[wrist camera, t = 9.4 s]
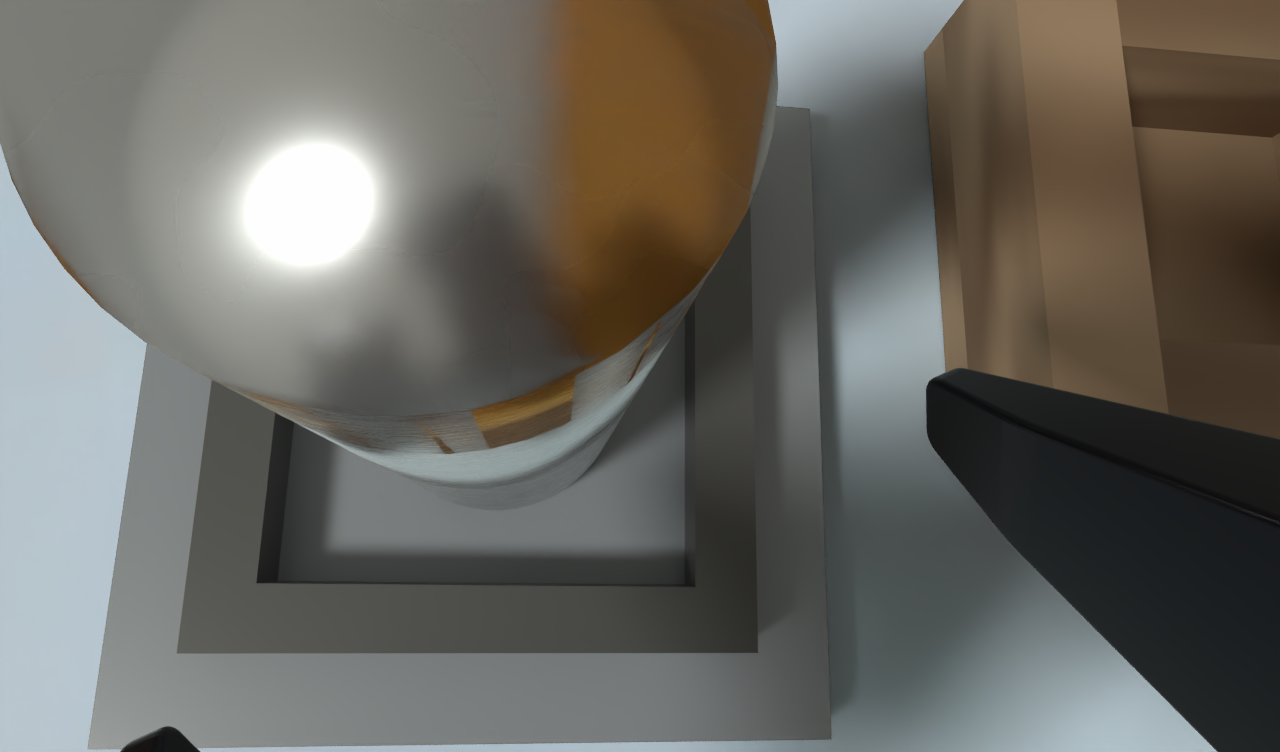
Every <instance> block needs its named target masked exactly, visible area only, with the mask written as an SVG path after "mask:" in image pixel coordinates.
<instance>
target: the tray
mask: <svg viewBox="0 0 1280 752" xmlns="http://www.w3.org/2000/svg"><path fill="white" fill-rule="evenodd" d="M166 726H171V727H174V728H176V729H177V730H179V731H180V732H181V733H182V734H183V735H184V736H185V737H186V738H187V739H188V740H189V741H190V742H191V743H192V744H193V745H194V746H195V747H196V748H232V747H306V746H380V745H454V744H529V743H603V742H677V741H751V740H826V739H831V713H830V684H829V655H828V626H827V597H826V568H825V539H824V510H823V482H822V453H821V424H820V395H819V366H818V337H817V308H816V279H815V250H814V221H813V192H812V163H811V134H810V109H806V108H793V107H780V106H776V111H775V122H774V130H773V134H772V138H771V142H770V146H769V150H768V154H767V159H766V163H765V167H764V171H763V173H762V176H761V178H760V181H759V183H758V186H757V188H756V191H755V193H754V196H753V198H752V201H751V203H750V205H749V208H748V210H747V213H746V214H745V216H744V218H743V220H742V221H741V223H740V225H739V226H738V228H737V230H736V232H735V233H734V235H733V237H732V238H731V240H730V242H729V244H728V245H727V247H726V249H725V250H724V252H723V254H722V255H721V257H720V259H719V260H718V262H717V264H716V265H715V267H714V268H713V270H712V272H711V273H710V275H709V277H708V278H707V280H706V281H705V283H704V285H703V286H702V288H701V290H700V291H699V293H698V294H697V296H696V298H695V299H694V301H693V303H692V304H691V306H690V307H689V309H688V311H687V312H686V314H685V316H684V317H683V319H682V320H681V322H680V324H679V325H678V327H677V329H676V330H675V332H674V333H673V335H672V337H671V338H670V340H669V342H668V343H667V345H666V346H665V348H664V350H663V351H662V353H661V355H660V356H659V358H658V359H657V361H656V363H655V364H654V366H653V368H652V369H651V371H650V372H649V374H648V376H647V377H646V379H645V381H644V382H643V384H642V385H641V387H640V389H639V390H638V392H637V394H636V395H635V397H634V398H633V400H632V402H631V403H630V405H629V407H628V408H627V410H626V411H625V413H624V415H623V416H622V418H621V420H620V421H619V423H618V424H617V426H616V428H615V429H614V431H613V433H612V434H611V436H610V437H609V439H608V441H607V442H606V444H605V446H604V447H603V449H602V450H601V452H600V454H599V455H598V457H597V458H596V460H595V461H594V462H593V463H592V465H591V466H590V467H589V469H588V470H587V471H586V472H585V473H584V474H583V475H582V476H581V477H580V478H579V479H578V480H576V481H575V482H574V483H573V484H571V485H570V486H569V487H567V488H566V489H565V490H563V491H561V492H560V493H558V494H556V495H554V496H553V497H551V498H549V499H546V500H544V501H541V502H539V503H537V504H534V505H530V506H526V507H522V508H518V509H510V510H480V509H472V508H468V507H464V506H460V505H457V504H454V503H451V502H449V501H447V500H444V499H442V498H440V497H438V496H436V495H434V494H432V493H430V492H428V491H426V490H424V489H422V488H420V487H418V486H416V485H414V484H413V483H411V482H409V481H407V480H405V479H403V478H401V477H399V476H397V475H395V474H393V473H391V472H389V471H387V470H385V469H384V468H382V467H380V466H378V465H376V464H374V463H372V462H370V461H368V460H366V459H364V458H362V457H360V456H358V455H356V454H355V453H353V452H351V451H349V450H347V449H345V448H343V447H341V446H339V445H337V444H335V443H333V442H331V441H329V440H327V439H326V438H324V437H322V436H320V435H318V434H316V433H314V432H312V431H310V430H308V429H306V428H304V427H302V426H300V425H298V424H297V423H295V422H293V421H291V420H289V419H287V418H285V417H283V416H281V415H279V414H277V413H275V412H273V411H271V410H269V409H268V408H266V407H264V406H262V405H260V404H258V403H256V402H254V401H252V400H250V399H248V398H246V397H244V396H242V395H240V394H239V393H237V392H235V391H233V390H231V389H229V388H227V387H225V386H223V385H221V384H219V383H217V382H215V381H213V380H211V379H210V378H208V377H206V376H204V375H202V374H200V373H198V372H196V371H194V370H192V369H190V368H189V367H187V366H185V365H184V364H182V363H180V362H179V361H177V360H175V359H173V358H172V357H170V356H168V355H167V354H165V353H163V352H161V351H160V350H158V349H156V348H155V347H153V346H151V345H150V344H148V343H147V347H146V354H145V361H144V367H143V374H142V381H141V388H140V395H139V401H138V408H137V415H136V422H135V429H134V435H133V442H132V449H131V456H130V463H129V469H128V476H127V483H126V490H125V497H124V504H123V510H122V517H121V524H120V531H119V538H118V544H117V551H116V558H115V565H114V572H113V578H112V585H111V592H110V599H109V606H108V612H107V619H106V626H105V633H104V640H103V646H102V653H101V660H100V667H99V674H98V680H97V687H96V694H95V701H94V708H93V715H92V721H91V728H90V735H89V742H88V749H123V748H124V747H125V746H126V745H127V744H128V743H130V742H131V741H133V740H135V739H137V738H139V737H142V736H144V735H146V734H148V733H150V732H153V731H155V730H157V729H159V728H162V727H166Z"/></svg>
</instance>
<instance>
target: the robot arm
mask: <svg viewBox="0 0 1280 752" xmlns="http://www.w3.org/2000/svg"><path fill="white" fill-rule="evenodd" d="M926 415H927V434H928V438H929V441H930V443H931V445H932V447H933V448H934V450H935V451H936V452H937V454H938V455H939V456H940V457H941V459H942V460H943V461H944V462H945V464H946V465H947V466H948V467H949V468H950V470H951V471H952V472H953V473H954V475H955V476H956V477H957V478H958V480H959V481H960V482H961V483H962V485H963V486H964V487H965V488H966V490H967V491H968V492H969V493H970V495H971V496H972V497H973V498H974V500H975V501H976V502H977V503H978V505H979V506H980V507H981V508H982V509H983V511H984V512H985V513H986V514H987V516H988V517H989V518H990V519H991V521H992V522H993V523H994V524H995V526H996V527H997V528H998V529H999V530H1000V532H1001V533H1002V534H1003V535H1004V536H1005V537H1006V539H1007V540H1008V541H1009V542H1010V543H1011V544H1012V545H1013V546H1014V547H1015V548H1016V549H1017V550H1018V552H1019V553H1020V554H1021V555H1022V556H1023V557H1024V558H1025V559H1026V560H1027V561H1028V562H1029V563H1030V564H1031V565H1032V566H1033V567H1034V568H1035V569H1036V570H1037V571H1038V572H1039V573H1040V574H1041V575H1042V576H1043V577H1044V578H1045V579H1046V580H1047V581H1048V582H1049V583H1050V584H1051V585H1052V586H1053V587H1054V588H1055V589H1056V590H1057V591H1058V592H1059V593H1060V594H1061V595H1062V596H1063V597H1064V598H1065V599H1066V600H1067V601H1068V602H1069V603H1070V604H1071V605H1072V606H1073V607H1074V608H1075V609H1076V610H1077V611H1078V612H1079V613H1080V614H1081V615H1082V616H1083V617H1084V618H1085V619H1086V620H1087V621H1088V622H1089V623H1090V624H1091V625H1092V626H1093V627H1094V628H1095V629H1096V630H1097V631H1098V632H1099V633H1100V634H1101V635H1102V636H1103V637H1104V638H1105V639H1106V640H1107V641H1108V642H1109V643H1110V644H1111V645H1112V646H1113V647H1114V648H1115V649H1116V650H1117V651H1118V652H1119V653H1120V654H1121V655H1122V656H1123V657H1124V658H1125V659H1126V660H1127V661H1128V662H1129V663H1130V664H1131V665H1132V666H1133V667H1134V668H1135V669H1136V670H1137V671H1138V672H1139V673H1140V674H1141V675H1142V676H1143V677H1144V678H1145V679H1146V680H1147V681H1148V682H1149V683H1150V684H1151V685H1152V686H1153V687H1154V688H1155V689H1156V690H1157V691H1158V692H1159V693H1160V694H1161V695H1162V696H1163V697H1164V698H1165V699H1166V700H1167V701H1168V702H1169V703H1170V704H1171V705H1172V706H1173V707H1174V708H1175V709H1176V710H1177V711H1178V712H1179V713H1180V714H1181V715H1182V716H1183V717H1184V718H1185V720H1186V721H1187V722H1188V723H1189V724H1190V725H1191V726H1192V727H1193V728H1194V729H1195V730H1196V731H1197V732H1198V733H1199V734H1200V735H1201V736H1202V737H1203V738H1204V739H1205V740H1206V741H1207V742H1208V743H1209V744H1210V745H1211V746H1212V747H1213V748H1214V749H1215V750H1216V751H1217V752H1280V439H1279V438H1274V437H1270V436H1265V435H1261V434H1256V433H1252V432H1247V431H1243V430H1238V429H1234V428H1229V427H1225V426H1221V425H1216V424H1212V423H1207V422H1203V421H1198V420H1194V419H1189V418H1185V417H1180V416H1176V415H1171V414H1167V413H1162V412H1158V411H1153V410H1149V409H1145V408H1140V407H1136V406H1131V405H1127V404H1122V403H1118V402H1113V401H1109V400H1104V399H1100V398H1095V397H1091V396H1086V395H1082V394H1077V393H1073V392H1068V391H1064V390H1060V389H1055V388H1051V387H1046V386H1042V385H1037V384H1033V383H1028V382H1024V381H1019V380H1015V379H1010V378H1006V377H1001V376H997V375H992V374H988V373H984V372H979V371H975V370H970V369H965V368H956V369H952V370H950V371H948V372H946V373H944V374H941V375H939V376H937V377H935V378H933V379H931V380H930V381H929V383H928V385H927V388H926ZM121 752H200V751H199V750H198V749H197V748H196V747H195V746H194V745H193V744H192V743H191V742H190V741H189V740H188V739H187V738H186V737H185V736H184V735H183V734H182V733H181V732H180V731H179V730H177V729H176V728H174V727H171V726H166V727H162V728H159V729H157V730H155V731H153V732H150V733H148V734H146V735H144V736H142V737H139V738H137V739H135V740H133V741H131V742H130V743H128V744H127V745H126V746H125V747H124V748H123V749H122V750H121Z"/></svg>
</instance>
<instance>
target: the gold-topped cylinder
mask: <svg viewBox="0 0 1280 752" xmlns="http://www.w3.org/2000/svg"><path fill="white" fill-rule="evenodd" d="M777 90H778V77H777V55H776V41H775V36H774V31H773V25H772V20H771V15H770V9H769V4H768V0H0V143H1V146H2V150H3V153H4V156H5V159H6V163H7V166H8V169H9V172H10V175H11V179H12V181H13V183H14V185H15V187H16V189H17V191H18V193H19V195H20V197H21V199H22V202H23V204H24V206H25V208H26V210H27V212H28V214H29V216H30V218H31V220H32V222H33V224H34V226H35V227H36V229H37V230H38V232H39V233H40V234H41V236H42V237H43V239H44V240H45V242H46V243H47V244H48V246H49V247H50V249H51V250H52V252H53V253H54V254H55V256H56V257H57V259H58V260H59V262H60V263H61V264H62V266H63V267H64V269H65V270H66V271H67V272H68V273H69V274H70V275H71V276H72V277H73V278H74V279H75V280H76V281H77V282H78V283H79V284H80V286H81V287H82V288H83V289H84V290H85V291H86V292H87V293H88V294H89V295H90V296H91V297H92V298H93V299H94V300H95V301H96V302H97V303H98V304H99V306H100V307H101V308H103V309H104V310H105V311H106V312H108V313H109V314H110V315H112V316H113V317H114V318H115V319H117V320H118V321H119V322H120V323H122V324H123V325H124V326H125V327H127V328H128V329H129V330H131V331H132V332H133V333H134V334H136V335H137V336H138V337H139V338H141V339H142V340H143V341H144V342H146V343H148V344H150V345H151V346H153V347H155V348H156V349H158V350H160V351H161V352H163V353H165V354H167V355H168V356H170V357H172V358H173V359H175V360H177V361H179V362H180V363H182V364H184V365H185V366H187V367H189V368H190V369H192V370H194V371H196V372H198V373H200V374H202V375H204V376H206V377H208V378H210V379H211V380H213V381H215V382H217V383H219V384H221V385H223V386H225V387H227V388H229V389H231V390H233V391H235V392H237V393H239V394H240V395H242V396H244V397H246V398H248V399H250V400H252V401H254V402H256V403H258V404H260V405H262V406H264V407H266V408H268V409H269V410H271V411H273V412H275V413H277V414H279V415H281V416H283V417H285V418H287V419H289V420H291V421H293V422H295V423H297V424H298V425H300V426H302V427H304V428H306V429H308V430H310V431H312V432H314V433H316V434H318V435H320V436H322V437H324V438H326V439H327V440H329V441H331V442H333V443H335V444H337V445H339V446H341V447H343V448H345V449H347V450H349V451H351V452H353V453H355V454H356V455H358V456H360V457H362V458H364V459H366V460H368V461H370V462H372V463H374V464H376V465H378V466H380V467H382V468H384V469H385V470H387V471H389V472H391V473H393V474H395V475H397V476H399V477H401V478H403V479H405V480H407V481H409V482H411V483H413V484H414V485H416V486H418V487H420V488H422V489H424V490H426V491H428V492H430V493H432V494H434V495H436V496H438V497H440V498H442V499H444V500H447V501H449V502H451V503H454V504H457V505H460V506H464V507H468V508H472V509H480V510H510V509H518V508H522V507H526V506H530V505H534V504H537V503H539V502H541V501H544V500H546V499H549V498H551V497H553V496H554V495H556V494H558V493H560V492H561V491H563V490H565V489H566V488H567V487H569V486H570V485H571V484H573V483H574V482H575V481H576V480H578V479H579V478H580V477H581V476H582V475H583V474H584V473H585V472H586V471H587V470H588V469H589V467H590V466H591V465H592V463H593V462H594V461H595V460H596V458H597V457H598V455H599V454H600V452H601V450H602V449H603V447H604V446H605V444H606V442H607V441H608V439H609V437H610V436H611V434H612V433H613V431H614V429H615V428H616V426H617V424H618V423H619V421H620V420H621V418H622V416H623V415H624V413H625V411H626V410H627V408H628V407H629V405H630V403H631V402H632V400H633V398H634V397H635V395H636V394H637V392H638V390H639V389H640V387H641V385H642V384H643V382H644V381H645V379H646V377H647V376H648V374H649V372H650V371H651V369H652V368H653V366H654V364H655V363H656V361H657V359H658V358H659V356H660V355H661V353H662V351H663V350H664V348H665V346H666V345H667V343H668V342H669V340H670V338H671V337H672V335H673V333H674V332H675V330H676V329H677V327H678V325H679V324H680V322H681V320H682V319H683V317H684V316H685V314H686V312H687V311H688V309H689V307H690V306H691V304H692V303H693V301H694V299H695V298H696V296H697V294H698V293H699V291H700V290H701V288H702V286H703V285H704V283H705V281H706V280H707V278H708V277H709V275H710V273H711V272H712V270H713V268H714V267H715V265H716V264H717V262H718V260H719V259H720V257H721V255H722V254H723V252H724V250H725V249H726V247H727V245H728V244H729V242H730V240H731V238H732V237H733V235H734V233H735V232H736V230H737V228H738V226H739V225H740V223H741V221H742V220H743V218H744V216H745V214H746V213H747V210H748V208H749V205H750V203H751V201H752V198H753V196H754V193H755V191H756V188H757V186H758V183H759V181H760V178H761V176H762V173H763V171H764V167H765V163H766V159H767V154H768V150H769V146H770V142H771V138H772V134H773V130H774V122H775V111H776V101H777Z"/></svg>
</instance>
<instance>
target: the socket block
mask: <svg viewBox="0 0 1280 752" xmlns="http://www.w3.org/2000/svg"><path fill="white" fill-rule="evenodd" d="M924 60H925V74H926V89H927V104H928V118H929V133H930V147H931V162H932V176H933V191H934V205H935V220H936V235H937V249H938V264H939V278H940V293H941V307H942V322H943V336H944V351H945V365H946V372H948V371H950V370H952V369H956V368H965V369H970V370H975V371H979V372H984V373H988V374H992V375H997V376H1001V377H1006V378H1010V379H1015V380H1019V381H1024V382H1028V383H1033V384H1037V385H1042V386H1046V387H1051V388H1055V389H1060V390H1064V391H1068V392H1073V393H1077V394H1082V395H1086V396H1091V397H1095V398H1100V399H1104V400H1109V401H1113V402H1118V403H1122V404H1127V405H1131V406H1136V407H1140V408H1145V409H1149V410H1153V411H1158V412H1162V413H1167V414H1171V415H1176V416H1180V417H1185V418H1189V419H1194V420H1198V421H1203V422H1207V423H1212V424H1216V425H1221V426H1225V427H1229V428H1234V429H1238V430H1243V431H1247V432H1252V433H1256V434H1261V435H1265V436H1270V437H1274V438H1279V439H1280V0H964V1H963V2H962V4H961V5H960V6H959V8H958V9H957V10H956V11H955V13H954V14H953V15H952V17H951V18H950V19H949V21H948V22H947V23H946V24H945V26H944V27H943V28H942V30H941V31H940V32H939V34H938V35H937V36H936V37H935V39H934V40H933V41H932V43H931V44H930V45H929V47H928V48H927V49H926V50H925V52H924ZM953 474H954V473H953Z"/></svg>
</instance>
